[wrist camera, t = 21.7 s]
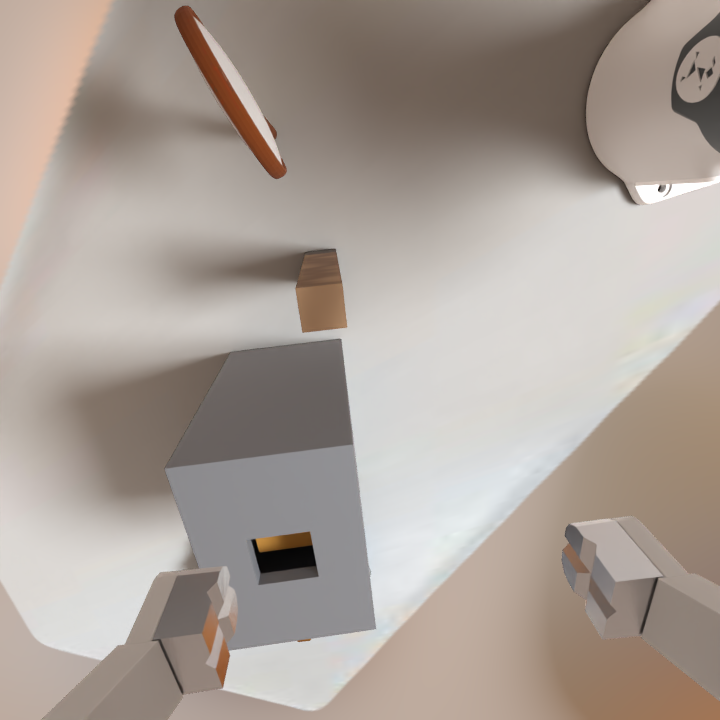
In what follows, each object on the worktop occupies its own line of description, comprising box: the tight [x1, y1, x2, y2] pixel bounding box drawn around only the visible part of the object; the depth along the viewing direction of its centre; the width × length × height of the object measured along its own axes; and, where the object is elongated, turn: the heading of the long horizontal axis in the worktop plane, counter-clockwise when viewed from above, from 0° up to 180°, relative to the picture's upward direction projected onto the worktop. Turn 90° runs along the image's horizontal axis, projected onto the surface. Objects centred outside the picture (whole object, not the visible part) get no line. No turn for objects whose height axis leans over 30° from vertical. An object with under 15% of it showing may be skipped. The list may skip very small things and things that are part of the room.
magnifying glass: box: [174, 6, 287, 179], centre depth 28 cm, size 9×2×20 cm, turn 29°
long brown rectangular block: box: [295, 249, 347, 333], centre depth 34 cm, size 3×3×16 cm
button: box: [256, 532, 313, 552], centre depth 34 cm, size 6×6×2 cm
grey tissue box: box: [164, 339, 376, 651], centre depth 39 cm, size 12×18×20 cm, turn 6°
